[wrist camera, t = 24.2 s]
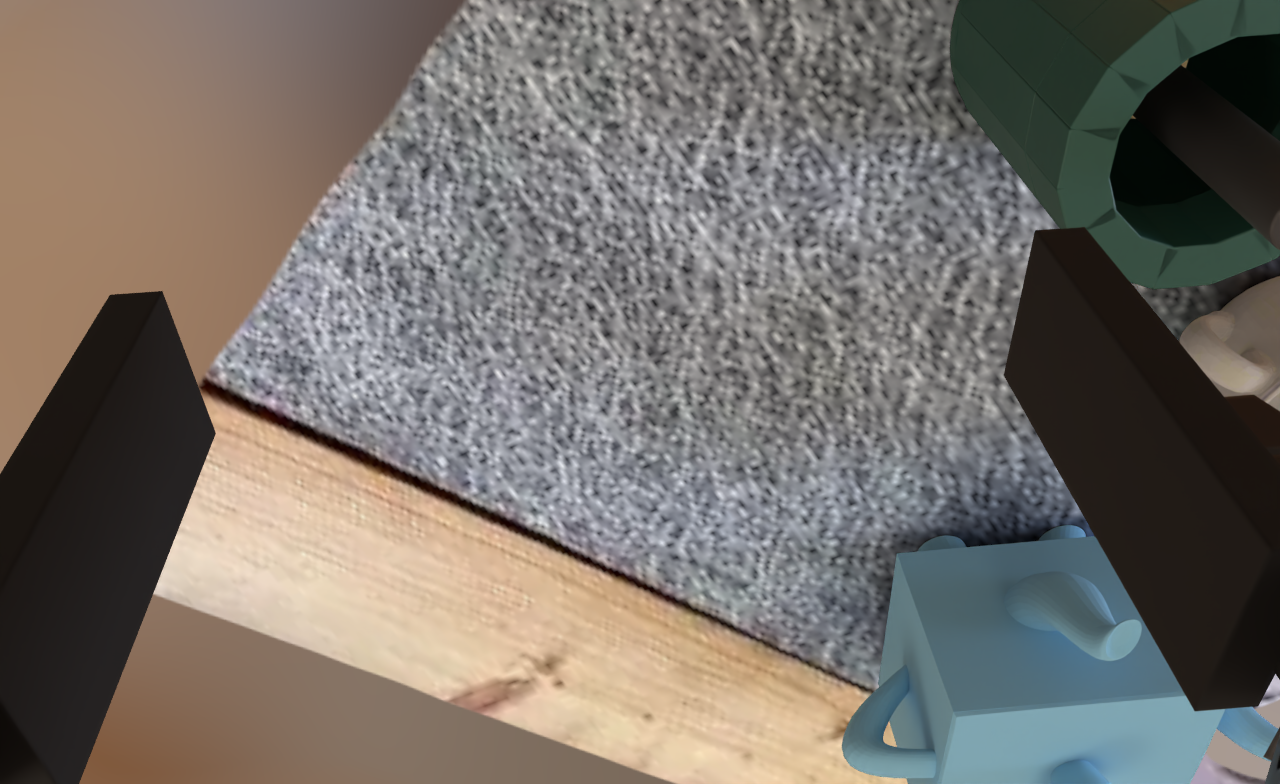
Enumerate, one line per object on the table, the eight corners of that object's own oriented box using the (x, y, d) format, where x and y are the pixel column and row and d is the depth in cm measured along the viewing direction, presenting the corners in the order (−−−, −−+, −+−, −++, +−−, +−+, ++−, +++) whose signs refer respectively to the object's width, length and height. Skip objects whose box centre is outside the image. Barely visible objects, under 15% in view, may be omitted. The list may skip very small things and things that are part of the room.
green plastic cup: (1040, -160, 39) (1197, -75, 29) (1265, -63, 42) (1476, 43, 32) (903, 101, 45) (998, 242, 35) (1109, 171, 48) (1248, 319, 38)
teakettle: (782, 606, 64) (833, 834, 53) (1035, 421, 56) (1160, 641, 45) (969, 716, 73) (1049, 933, 61) (1212, 568, 65) (1355, 785, 53)
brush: (1053, -12, 42) (1272, 169, 29) (1138, -15, 42) (1392, 162, 29) (1035, 73, 44) (1233, 275, 31) (1115, 69, 44) (1345, 269, 31)
